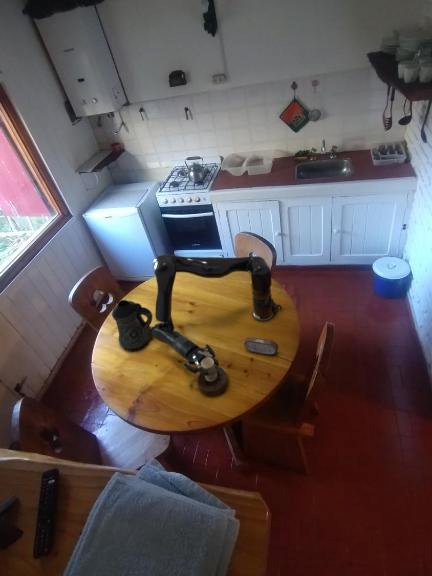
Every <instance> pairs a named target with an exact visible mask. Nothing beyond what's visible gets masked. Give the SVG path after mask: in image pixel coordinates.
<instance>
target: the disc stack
mask: <svg viewBox="0 0 432 576" xmlns="http://www.w3.org/2000/svg"><path fill="white" fill-rule="evenodd" d="M215 366H216V365H215V364H214V360H213V359H212V358H210V357H207V358H204V359H203V360H202V361H201V363H200V367H202V368H203V369H205V370H206V371H207V372H208V376H206V375H204V376H205V379H206V380H207V381H214V380H215V379H216V378H217V371H216V368H215Z"/></svg>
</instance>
